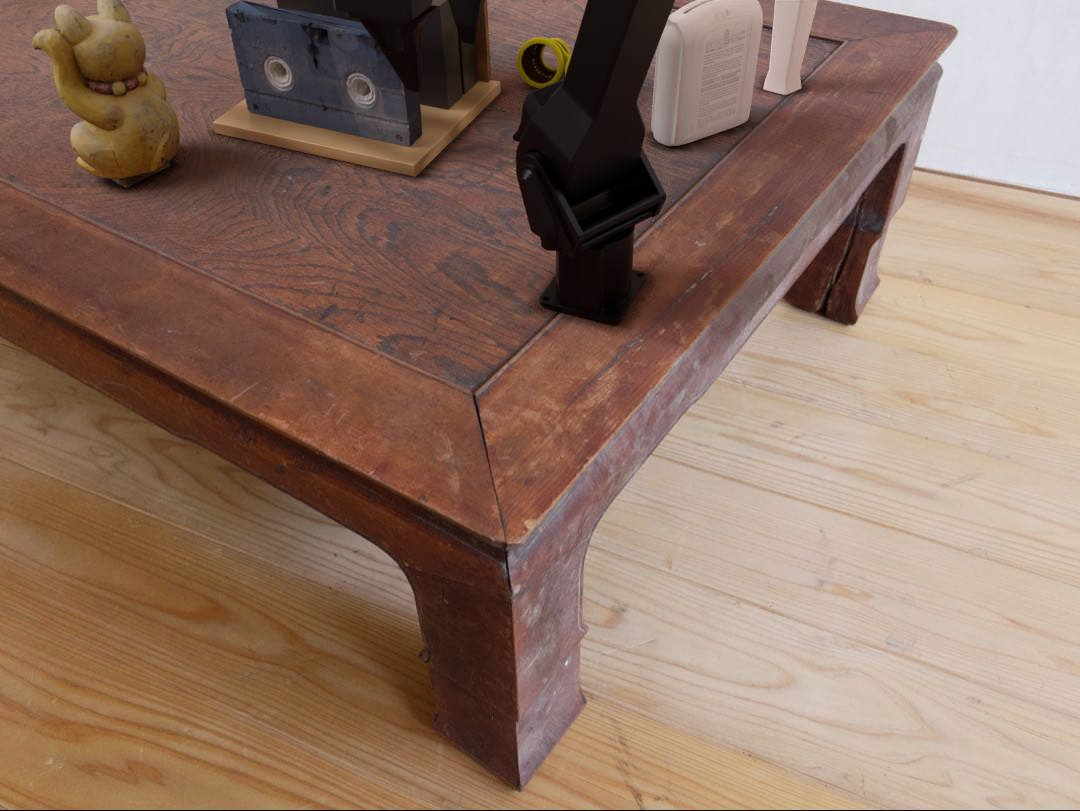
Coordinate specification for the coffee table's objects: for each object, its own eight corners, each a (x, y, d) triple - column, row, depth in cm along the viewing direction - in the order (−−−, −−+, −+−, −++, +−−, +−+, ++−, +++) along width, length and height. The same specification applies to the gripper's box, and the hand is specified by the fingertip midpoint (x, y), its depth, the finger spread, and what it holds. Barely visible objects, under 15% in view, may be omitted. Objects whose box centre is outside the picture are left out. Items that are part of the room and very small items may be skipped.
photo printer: (725, 106, 97) (741, -23, 88) (755, 123, 94) (774, -8, 86) (643, 135, 93) (651, 3, 84) (672, 153, 90) (683, 19, 82)
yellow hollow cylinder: (620, 96, 100) (627, 46, 98) (595, 107, 96) (601, 55, 94) (540, 75, 104) (545, 26, 101) (513, 84, 100) (517, 34, 98)
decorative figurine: (148, 136, 94) (97, -25, 84) (213, 155, 91) (169, -9, 81) (70, 182, 88) (5, 15, 78) (137, 204, 85) (79, 34, 75)
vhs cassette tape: (425, 136, 91) (414, 29, 84) (408, 150, 89) (396, 42, 82) (265, 99, 97) (242, -3, 90) (246, 112, 95) (222, 8, 88)
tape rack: (415, 177, 88) (401, 55, 80) (215, 133, 94) (184, 17, 87) (501, 92, 100) (495, -21, 92) (317, 58, 106) (298, -50, 99)
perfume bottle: (811, 82, 100) (839, -74, 90) (794, 99, 97) (821, -60, 87) (769, 72, 102) (792, -82, 92) (751, 88, 99) (773, -69, 89)
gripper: (468, -105, 57) (482, 138, 68) (585, -181, 70) (582, 35, 80) (307, -124, 61) (345, 110, 71) (446, -193, 73) (461, 16, 84)
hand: (442, 65), depth 77 cm, fingers open, 9 cm apart
